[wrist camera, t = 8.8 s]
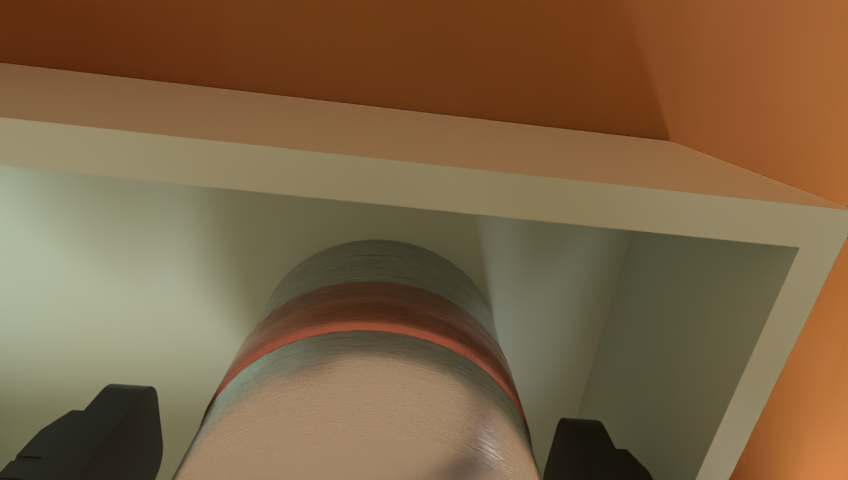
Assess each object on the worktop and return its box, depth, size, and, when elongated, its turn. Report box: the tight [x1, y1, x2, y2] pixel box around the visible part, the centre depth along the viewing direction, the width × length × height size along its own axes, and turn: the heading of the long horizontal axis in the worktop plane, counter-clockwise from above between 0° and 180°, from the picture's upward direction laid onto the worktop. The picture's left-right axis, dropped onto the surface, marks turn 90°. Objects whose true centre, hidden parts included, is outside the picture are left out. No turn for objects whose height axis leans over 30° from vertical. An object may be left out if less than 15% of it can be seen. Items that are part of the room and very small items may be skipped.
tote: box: [0, 63, 848, 480], centre depth 10 cm, size 18×12×5 cm, turn 83°
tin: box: [171, 240, 541, 480], centre depth 10 cm, size 6×6×6 cm
